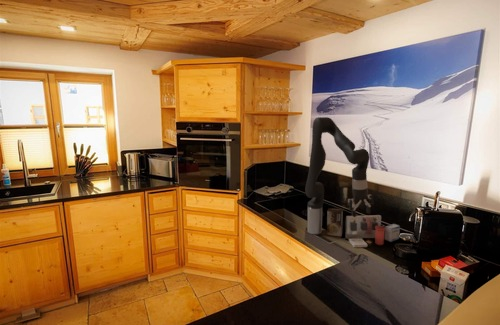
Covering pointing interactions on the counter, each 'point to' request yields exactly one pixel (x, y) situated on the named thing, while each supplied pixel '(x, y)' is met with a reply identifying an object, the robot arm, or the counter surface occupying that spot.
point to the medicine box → (392, 232)
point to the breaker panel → (362, 226)
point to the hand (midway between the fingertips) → (361, 214)
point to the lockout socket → (358, 242)
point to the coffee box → (334, 222)
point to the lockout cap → (379, 235)
